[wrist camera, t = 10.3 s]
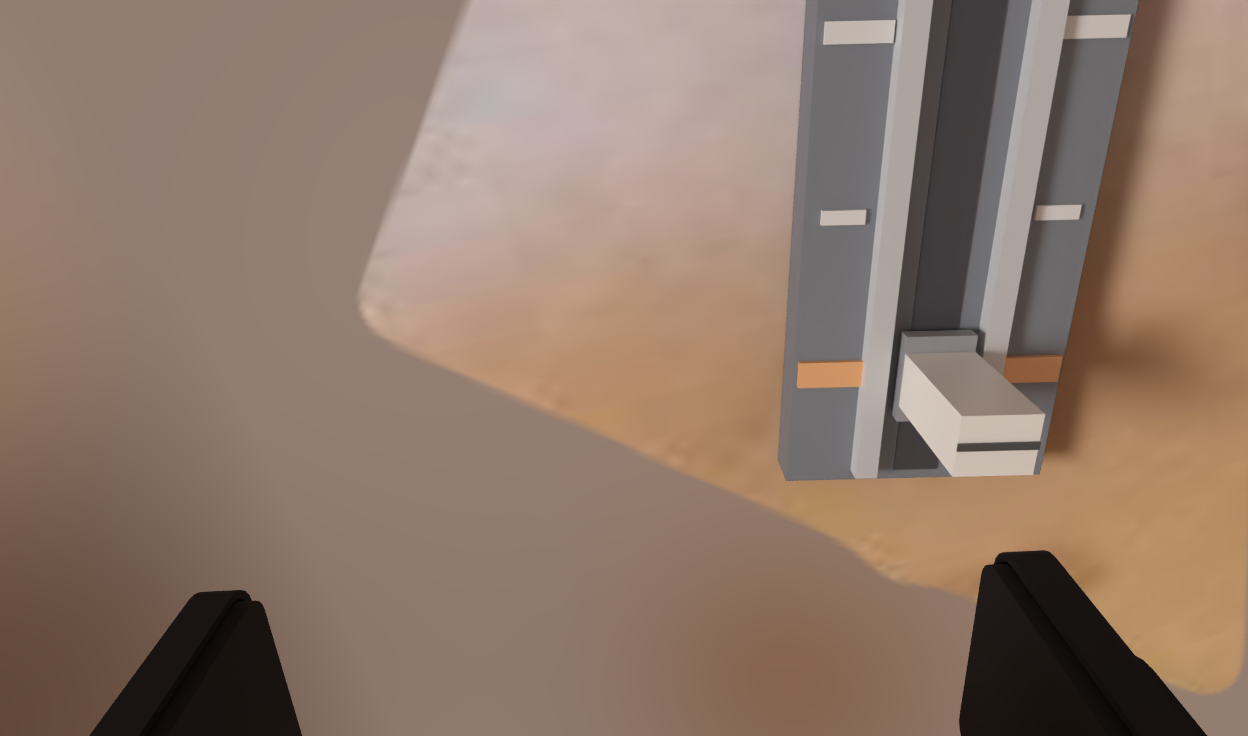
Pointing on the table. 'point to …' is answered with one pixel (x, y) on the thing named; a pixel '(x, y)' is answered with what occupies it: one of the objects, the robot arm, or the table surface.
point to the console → (938, 207)
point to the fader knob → (964, 406)
